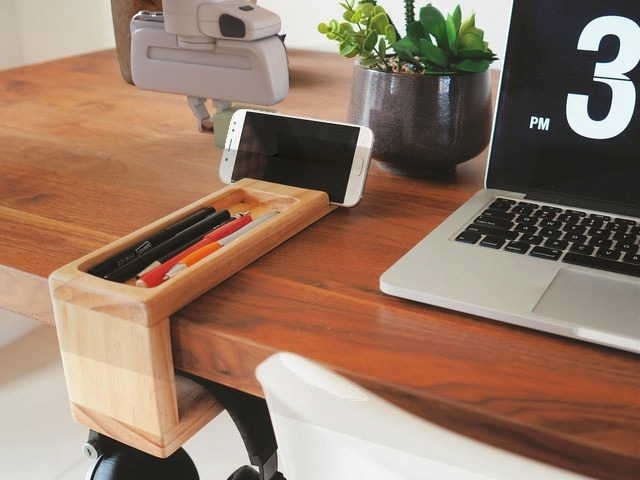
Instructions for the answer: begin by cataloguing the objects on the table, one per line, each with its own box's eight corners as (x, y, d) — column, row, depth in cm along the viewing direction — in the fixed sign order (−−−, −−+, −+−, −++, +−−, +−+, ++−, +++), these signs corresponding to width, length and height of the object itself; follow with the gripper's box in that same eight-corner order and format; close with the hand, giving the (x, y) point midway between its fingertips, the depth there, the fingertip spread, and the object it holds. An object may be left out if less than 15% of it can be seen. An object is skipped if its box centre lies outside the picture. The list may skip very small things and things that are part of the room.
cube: (216, 159, 87) (212, 114, 85) (240, 147, 92) (237, 104, 89) (255, 166, 85) (253, 120, 83) (278, 153, 90) (276, 109, 87)
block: (117, 78, 126) (100, -48, 116) (159, 74, 129) (146, -48, 120) (137, 90, 118) (121, -43, 109) (181, 86, 121) (169, -44, 112)
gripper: (111, 12, 84) (127, 128, 90) (266, 25, 77) (271, 150, 83) (145, 6, 89) (158, 117, 95) (293, 18, 82) (296, 136, 89)
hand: (212, 133), depth 89 cm, fingers closed
